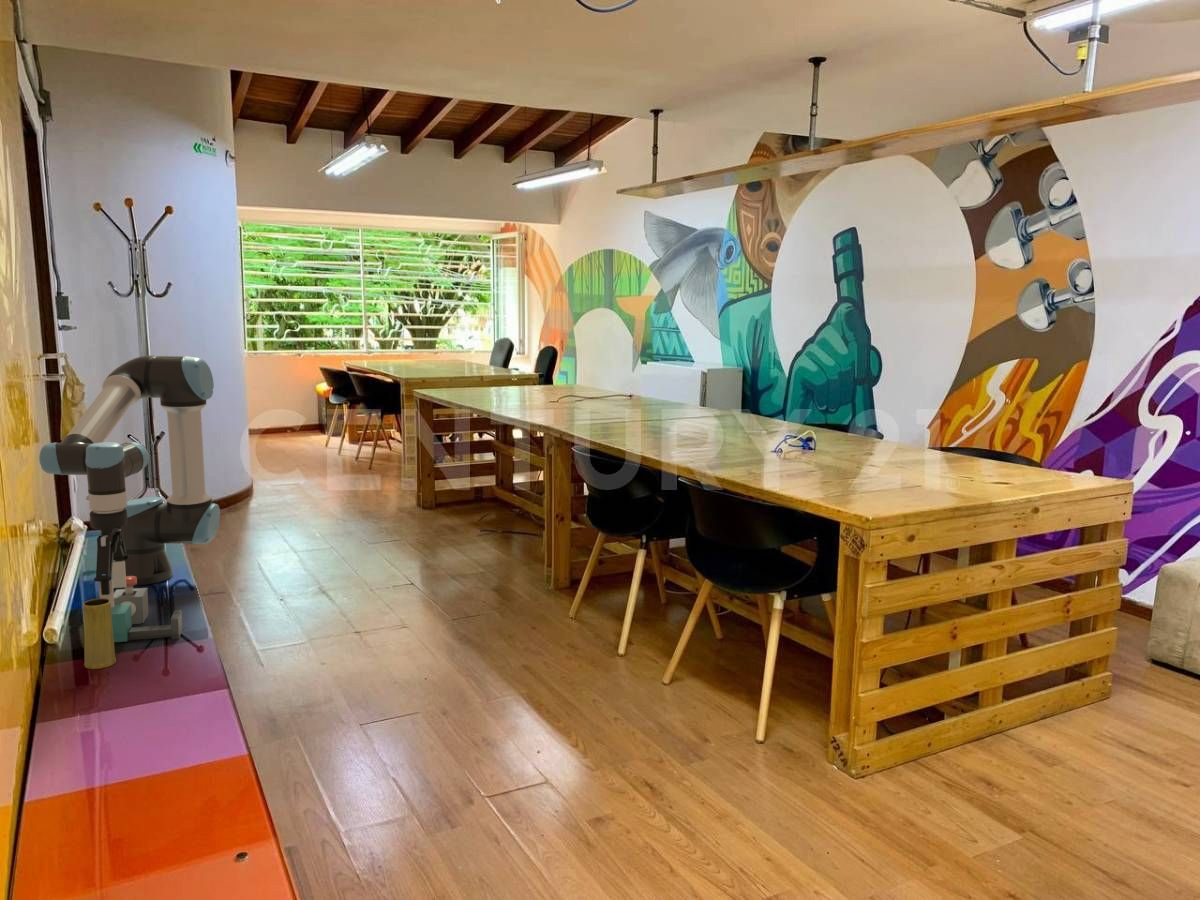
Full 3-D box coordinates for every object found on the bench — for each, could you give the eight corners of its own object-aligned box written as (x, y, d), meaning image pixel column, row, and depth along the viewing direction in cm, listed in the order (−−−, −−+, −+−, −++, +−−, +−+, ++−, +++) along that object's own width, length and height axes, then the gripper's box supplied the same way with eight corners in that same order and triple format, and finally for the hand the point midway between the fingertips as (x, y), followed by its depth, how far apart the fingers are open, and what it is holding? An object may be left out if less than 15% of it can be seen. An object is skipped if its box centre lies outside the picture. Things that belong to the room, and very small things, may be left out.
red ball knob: (122, 596, 214) (121, 576, 213) (138, 595, 215) (137, 575, 214) (119, 600, 210) (118, 580, 209) (136, 599, 211) (135, 579, 211)
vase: (78, 665, 186) (74, 603, 183) (105, 656, 191) (102, 595, 189) (95, 671, 183) (91, 608, 181) (122, 662, 188) (119, 600, 186)
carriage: (97, 644, 197) (95, 615, 195) (104, 633, 203) (102, 605, 202) (126, 642, 198) (125, 613, 197) (132, 631, 205) (130, 603, 204)
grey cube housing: (117, 616, 215) (116, 589, 214) (148, 614, 218) (147, 587, 217) (111, 626, 209) (110, 598, 208) (143, 623, 211) (142, 596, 210)
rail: (87, 645, 196) (86, 625, 196) (93, 636, 202) (92, 616, 201) (178, 638, 203) (178, 618, 202) (182, 629, 208) (181, 610, 207)
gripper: (102, 497, 206) (107, 580, 210) (75, 524, 183) (82, 617, 187) (136, 496, 209) (141, 578, 213) (115, 522, 186) (120, 614, 189)
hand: (113, 596), depth 200 cm, fingers open, 13 cm apart
